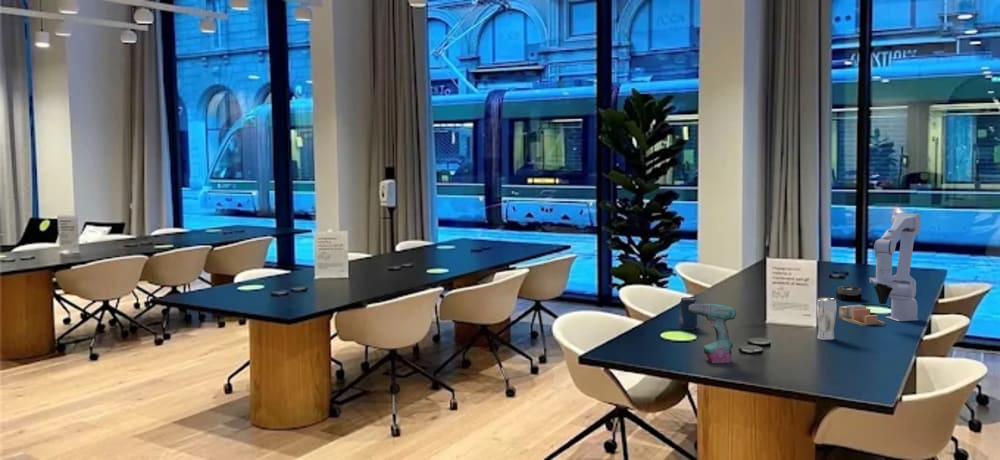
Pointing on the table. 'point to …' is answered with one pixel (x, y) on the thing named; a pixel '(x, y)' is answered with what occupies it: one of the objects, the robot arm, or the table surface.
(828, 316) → the beer glass
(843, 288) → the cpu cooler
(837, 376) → the table surface
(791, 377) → the table surface
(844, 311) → the vise body
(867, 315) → the brown stepped block
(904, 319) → the robot arm
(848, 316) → the block
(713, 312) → the power drill
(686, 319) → the soda can
